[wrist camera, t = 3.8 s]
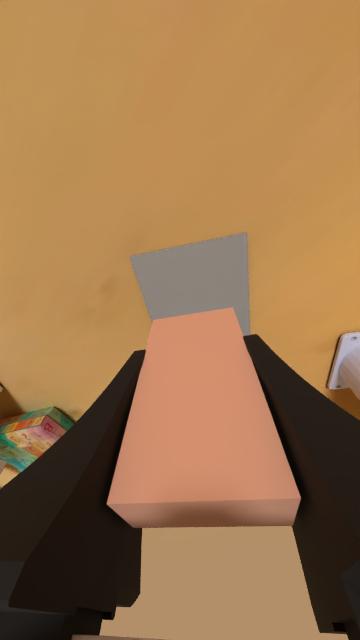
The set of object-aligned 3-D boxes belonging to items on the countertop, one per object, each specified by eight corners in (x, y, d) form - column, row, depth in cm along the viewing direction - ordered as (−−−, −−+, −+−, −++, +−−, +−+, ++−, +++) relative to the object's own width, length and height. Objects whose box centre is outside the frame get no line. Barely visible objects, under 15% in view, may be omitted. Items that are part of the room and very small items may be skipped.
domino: (232, 307, 11) (300, 498, 4) (235, 336, 12) (293, 525, 5) (153, 320, 12) (106, 504, 5) (162, 346, 13) (133, 527, 6)
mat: (245, 232, 15) (247, 233, 15) (252, 428, 30) (253, 431, 30) (131, 256, 17) (130, 257, 16) (190, 433, 31) (190, 436, 31)
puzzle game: (35, 432, 24) (123, 494, 34) (56, 397, 28) (130, 462, 38) (-35, 448, 27) (66, 501, 37) (-7, 414, 31) (77, 470, 41)
